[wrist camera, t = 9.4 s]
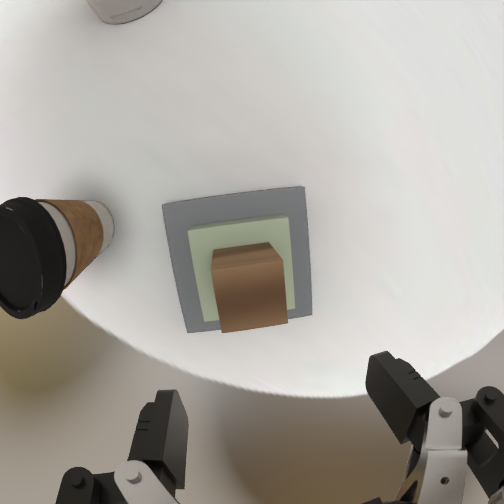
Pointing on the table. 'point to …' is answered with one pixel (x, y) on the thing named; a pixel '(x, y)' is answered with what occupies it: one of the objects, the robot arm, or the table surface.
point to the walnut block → (249, 287)
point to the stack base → (233, 211)
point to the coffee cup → (47, 249)
